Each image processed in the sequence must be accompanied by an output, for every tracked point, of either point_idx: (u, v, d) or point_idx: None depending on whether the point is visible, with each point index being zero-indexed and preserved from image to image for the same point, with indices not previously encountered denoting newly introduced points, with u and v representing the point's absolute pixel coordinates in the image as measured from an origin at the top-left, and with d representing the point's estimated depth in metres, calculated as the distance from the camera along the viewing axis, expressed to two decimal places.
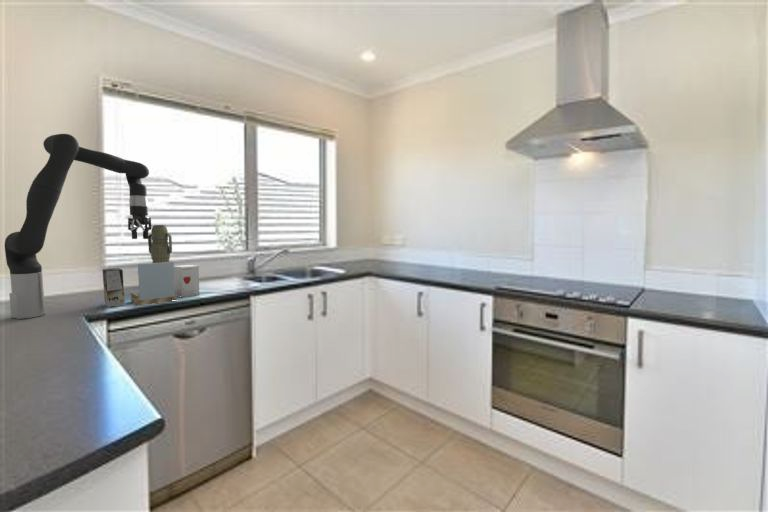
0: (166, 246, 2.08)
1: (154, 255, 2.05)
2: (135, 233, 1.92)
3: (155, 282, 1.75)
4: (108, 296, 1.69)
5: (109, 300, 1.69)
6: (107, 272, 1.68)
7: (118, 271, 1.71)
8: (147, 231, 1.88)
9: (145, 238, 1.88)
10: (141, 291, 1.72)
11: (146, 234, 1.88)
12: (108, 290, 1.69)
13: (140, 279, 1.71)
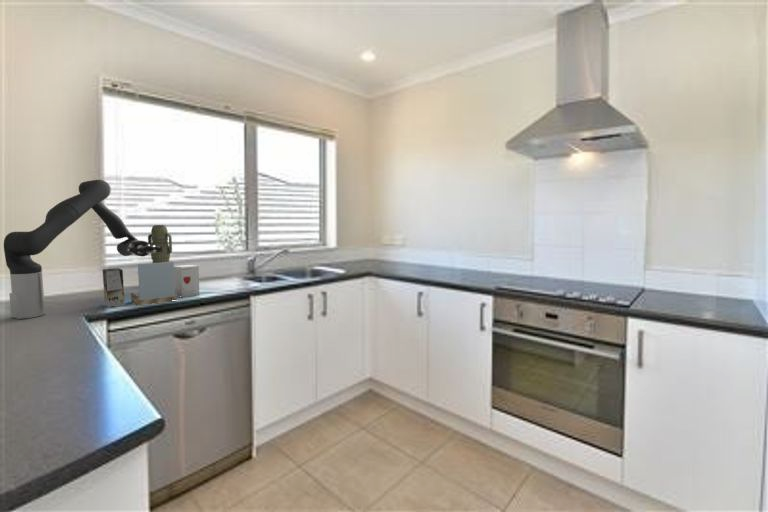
0: (166, 246, 2.08)
1: (154, 255, 2.05)
2: None
3: (155, 282, 1.75)
4: (108, 296, 1.69)
5: (109, 300, 1.69)
6: (107, 272, 1.68)
7: (118, 271, 1.71)
8: None
9: (160, 248, 1.82)
10: (141, 291, 1.72)
11: None
12: (108, 290, 1.69)
13: (140, 279, 1.71)
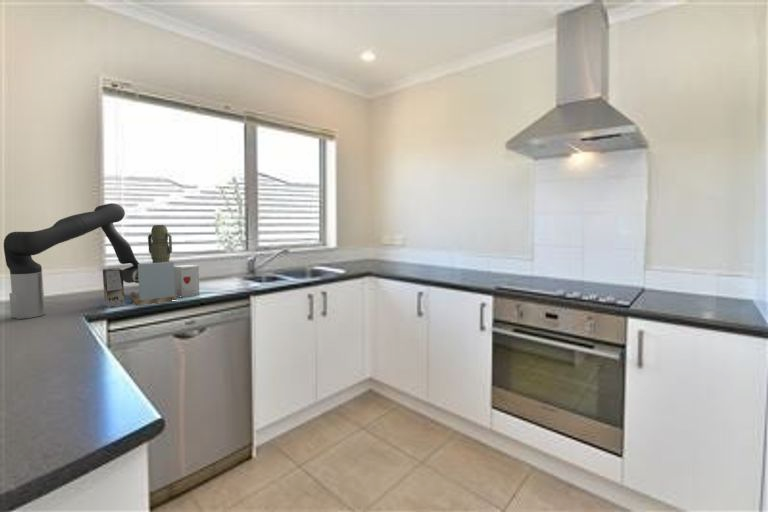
0: (166, 246, 2.08)
1: (154, 255, 2.05)
2: None
3: (155, 282, 1.75)
4: (108, 296, 1.69)
5: (109, 300, 1.69)
6: (107, 272, 1.68)
7: (118, 271, 1.71)
8: None
9: None
10: (141, 291, 1.72)
11: None
12: (108, 290, 1.69)
13: (140, 279, 1.71)
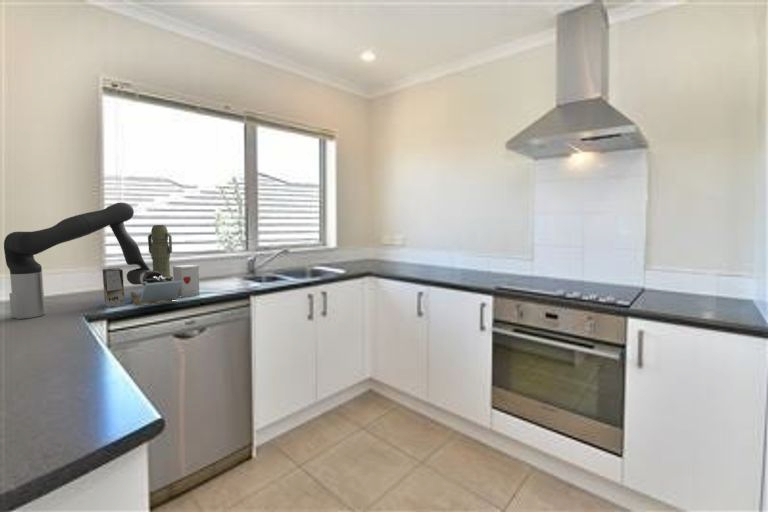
0: (166, 246, 2.08)
1: (154, 255, 2.05)
2: None
3: (158, 293, 1.72)
4: (108, 296, 1.69)
5: (109, 300, 1.69)
6: (107, 272, 1.68)
7: (118, 271, 1.71)
8: None
9: None
10: (143, 298, 1.70)
11: None
12: (108, 290, 1.69)
13: (144, 292, 1.67)
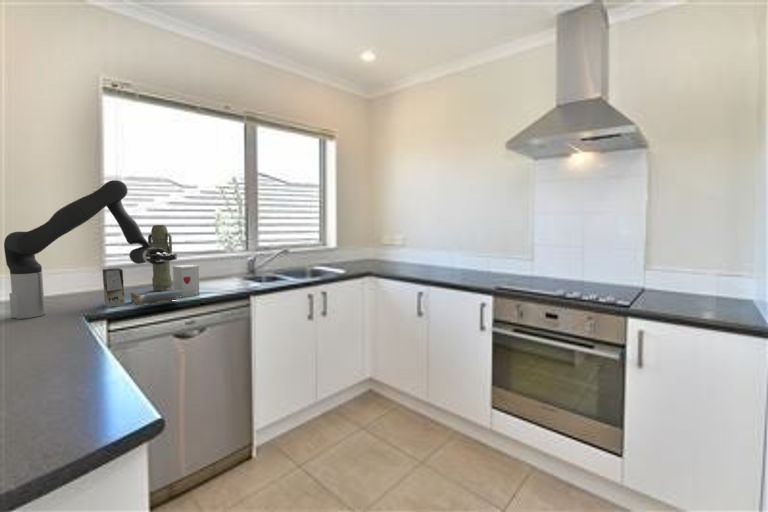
0: (166, 246, 2.08)
1: None
2: None
3: (159, 297, 1.72)
4: (108, 296, 1.69)
5: (109, 300, 1.69)
6: (107, 272, 1.68)
7: (118, 271, 1.71)
8: None
9: (170, 257, 1.65)
10: (143, 300, 1.70)
11: None
12: (108, 290, 1.69)
13: (145, 298, 1.66)
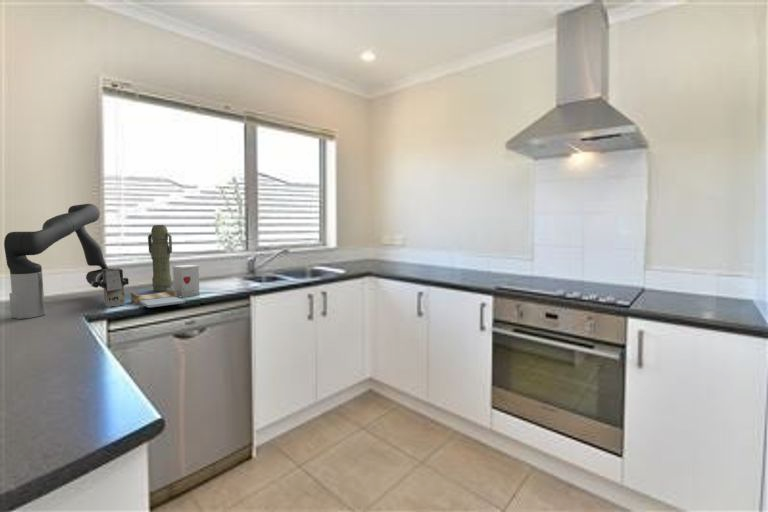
0: (166, 246, 2.08)
1: (154, 255, 2.05)
2: None
3: None
4: (108, 296, 1.69)
5: (109, 300, 1.69)
6: (107, 272, 1.68)
7: (118, 271, 1.71)
8: None
9: (124, 282, 1.75)
10: None
11: None
12: (108, 290, 1.69)
13: None
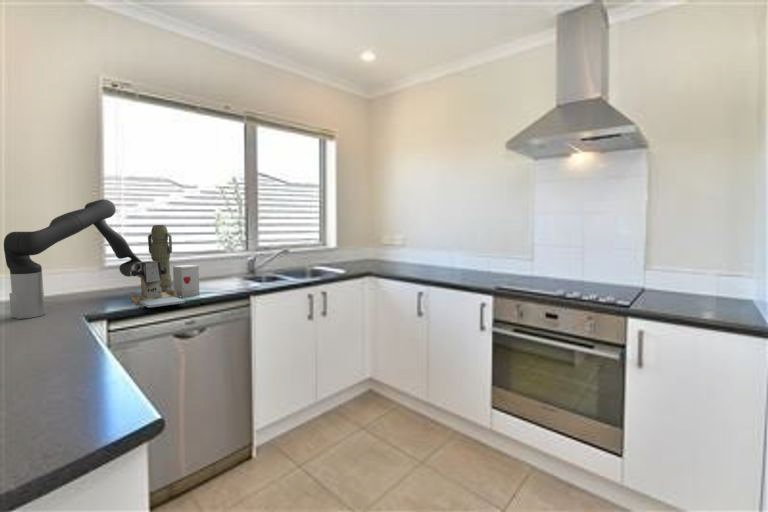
0: (166, 246, 2.08)
1: (154, 255, 2.05)
2: None
3: None
4: (147, 287, 1.76)
5: (148, 291, 1.76)
6: (147, 264, 1.75)
7: (156, 263, 1.78)
8: None
9: (164, 271, 1.83)
10: None
11: None
12: (147, 281, 1.76)
13: None
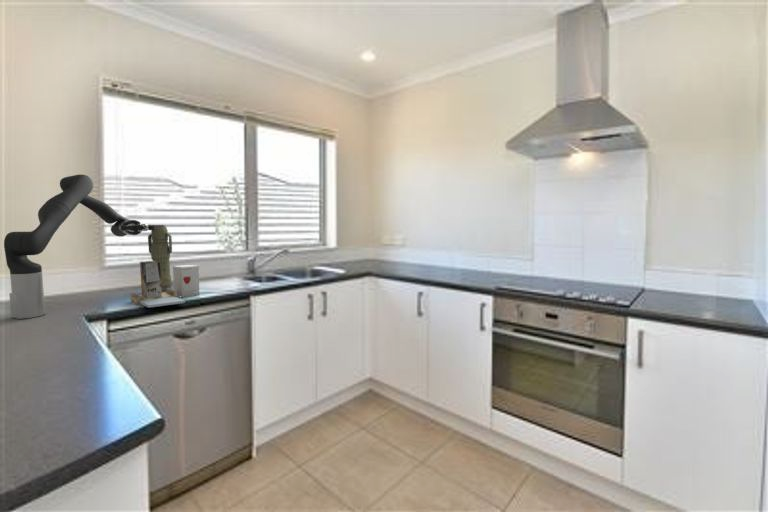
0: (166, 246, 2.08)
1: (154, 255, 2.05)
2: None
3: None
4: (147, 287, 1.76)
5: (148, 291, 1.76)
6: (146, 264, 1.75)
7: (156, 263, 1.78)
8: None
9: (152, 227, 1.90)
10: None
11: None
12: (147, 281, 1.76)
13: None
